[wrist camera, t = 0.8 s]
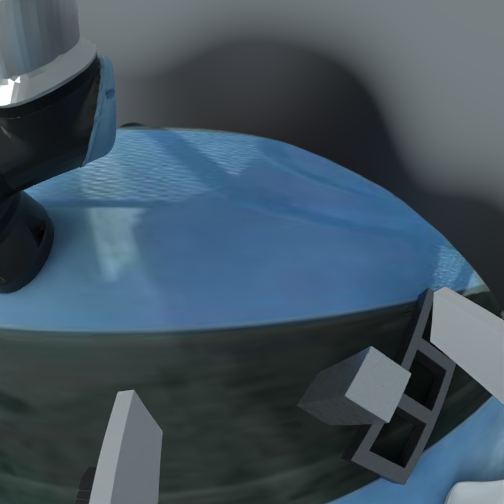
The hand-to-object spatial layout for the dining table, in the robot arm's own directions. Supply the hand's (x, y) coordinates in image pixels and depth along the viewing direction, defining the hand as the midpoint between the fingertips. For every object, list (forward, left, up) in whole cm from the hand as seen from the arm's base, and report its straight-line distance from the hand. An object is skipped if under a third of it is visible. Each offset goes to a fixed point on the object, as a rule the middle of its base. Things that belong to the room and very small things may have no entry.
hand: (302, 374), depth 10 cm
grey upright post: (+7, +5, -21) cm, 22 cm away
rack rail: (+18, +13, -20) cm, 30 cm away
